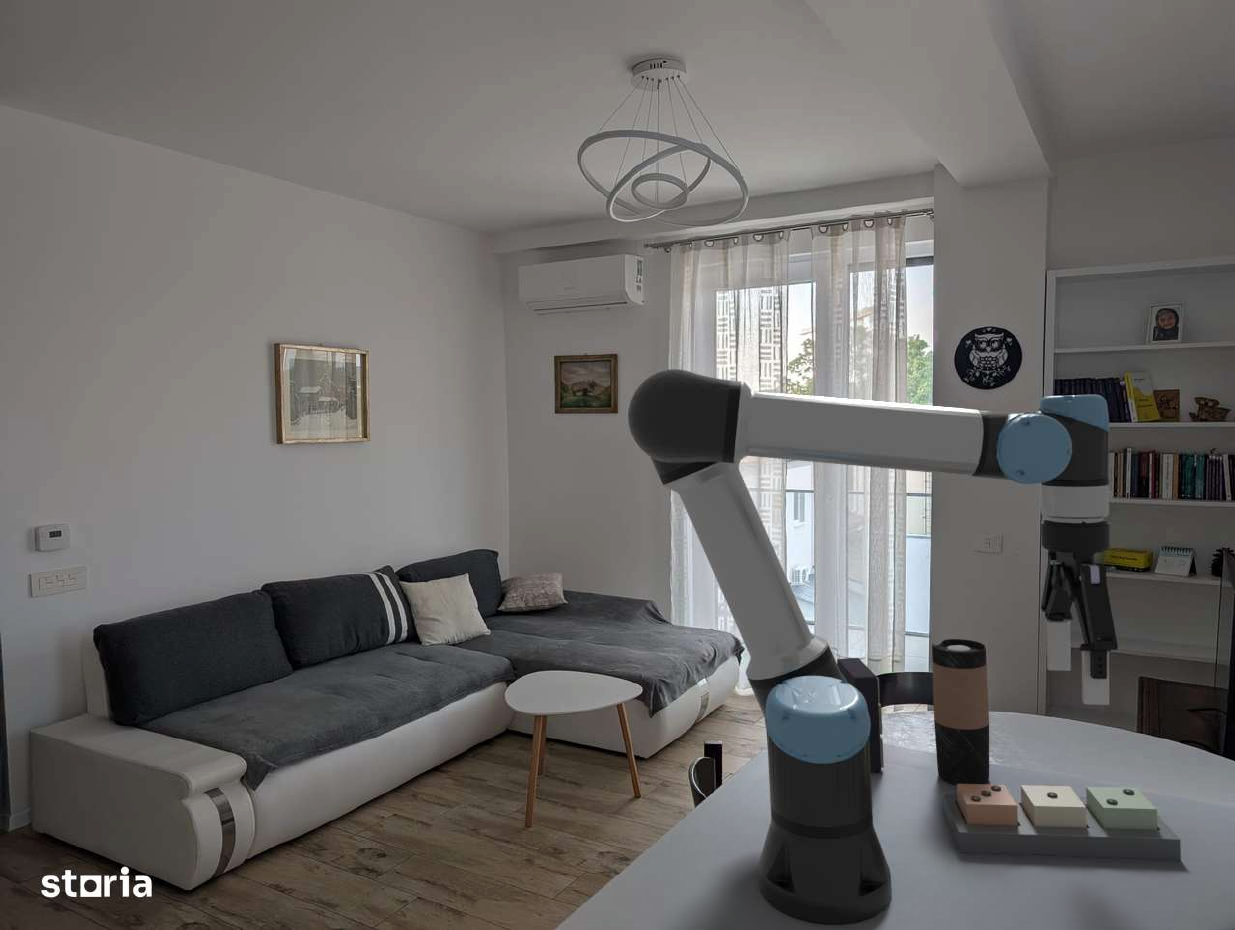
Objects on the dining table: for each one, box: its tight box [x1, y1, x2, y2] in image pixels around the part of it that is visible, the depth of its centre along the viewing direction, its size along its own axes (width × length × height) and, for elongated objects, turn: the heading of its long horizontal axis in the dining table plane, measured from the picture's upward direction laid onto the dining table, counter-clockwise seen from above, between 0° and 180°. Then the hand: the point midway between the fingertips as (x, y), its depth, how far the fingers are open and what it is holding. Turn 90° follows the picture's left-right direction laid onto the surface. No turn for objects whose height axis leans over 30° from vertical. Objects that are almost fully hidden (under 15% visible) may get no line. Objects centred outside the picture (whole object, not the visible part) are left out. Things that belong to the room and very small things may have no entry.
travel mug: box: [931, 638, 990, 787], centre depth 127 cm, size 8×8×20 cm
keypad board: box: [941, 793, 1182, 861], centre depth 109 cm, size 25×11×2 cm, turn 79°
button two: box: [1085, 786, 1158, 830], centre depth 108 cm, size 6×6×3 cm
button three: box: [956, 783, 1018, 826], centre depth 111 cm, size 6×6×3 cm
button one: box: [1020, 784, 1087, 828], centre depth 109 cm, size 6×6×3 cm
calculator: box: [836, 657, 885, 773], centre depth 136 cm, size 11×4×15 cm, turn 179°
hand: (1076, 685), depth 107 cm, fingers open, 13 cm apart
